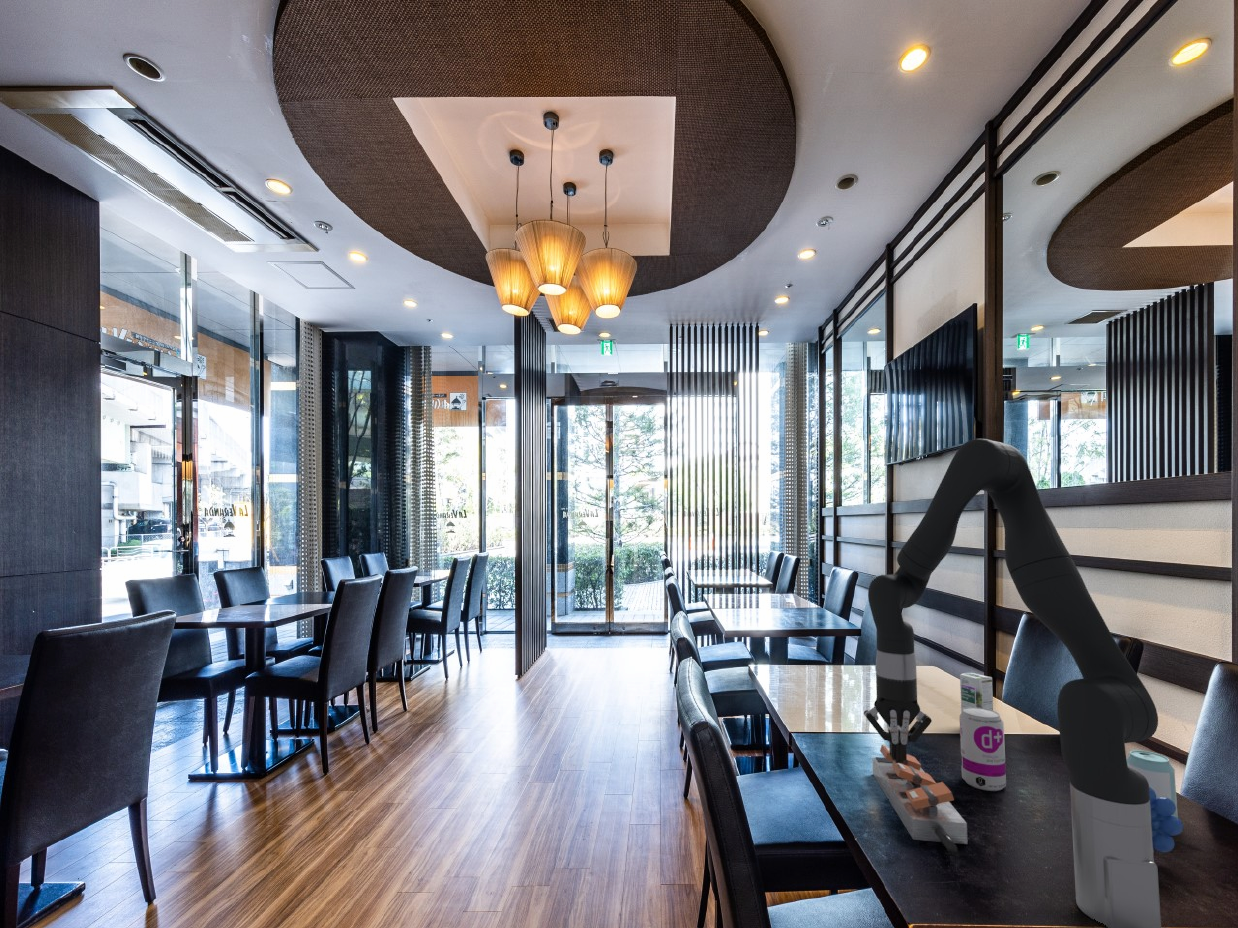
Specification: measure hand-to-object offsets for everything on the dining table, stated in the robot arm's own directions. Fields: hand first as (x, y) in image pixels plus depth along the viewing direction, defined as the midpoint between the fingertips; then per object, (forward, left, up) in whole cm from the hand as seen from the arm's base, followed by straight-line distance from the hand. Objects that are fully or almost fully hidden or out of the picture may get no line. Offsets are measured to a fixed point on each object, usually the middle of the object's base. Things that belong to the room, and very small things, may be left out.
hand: (898, 761), depth 123 cm
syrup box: (+49, -34, -8) cm, 60 cm away
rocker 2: (0, -3, -2) cm, 4 cm away
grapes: (-13, -35, -8) cm, 38 cm away
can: (+1, -46, -8) cm, 47 cm away
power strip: (-3, -3, -8) cm, 9 cm away
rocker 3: (-9, -3, -2) cm, 10 cm away
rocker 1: (+9, -3, -2) cm, 10 cm away
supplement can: (+13, -21, -8) cm, 26 cm away
